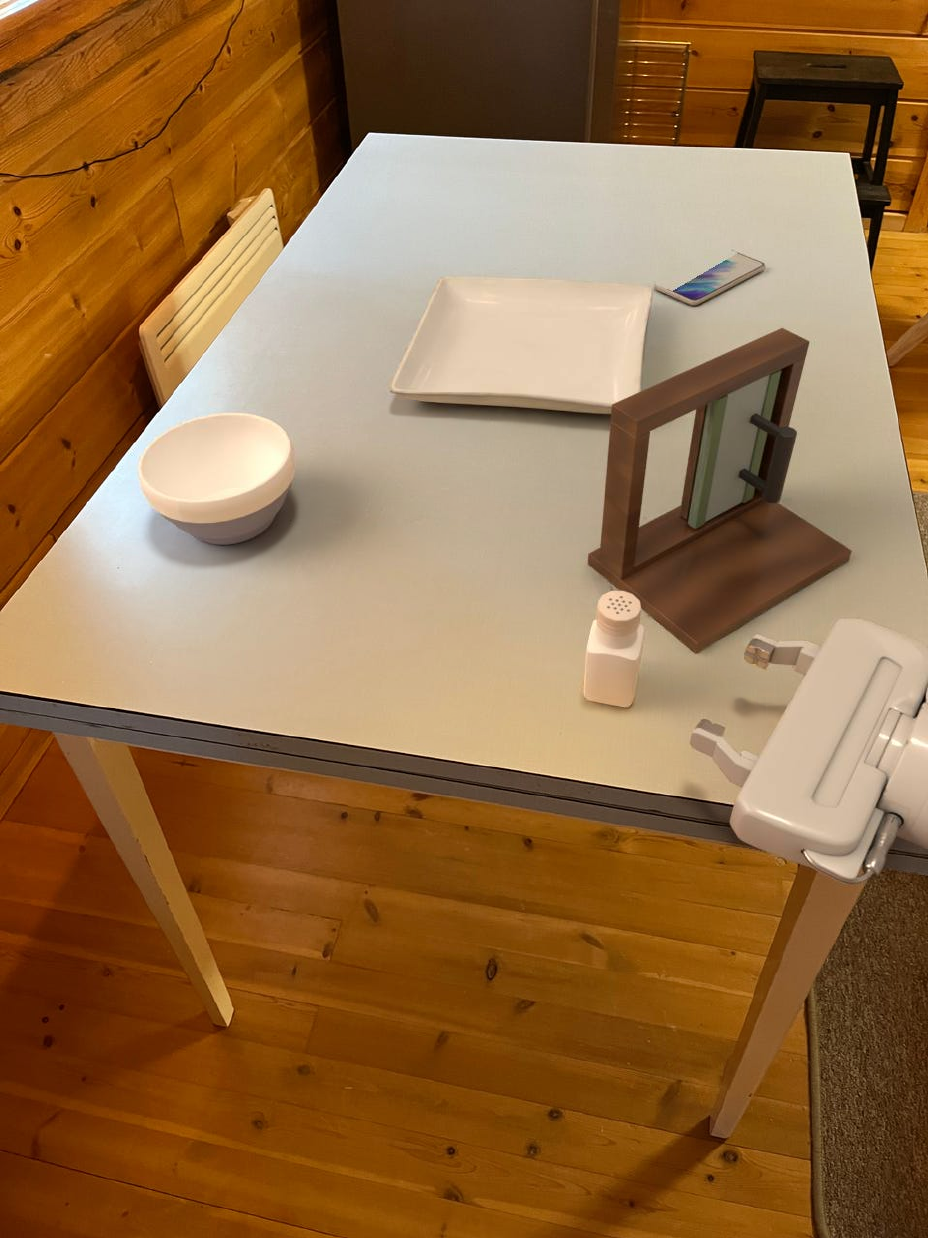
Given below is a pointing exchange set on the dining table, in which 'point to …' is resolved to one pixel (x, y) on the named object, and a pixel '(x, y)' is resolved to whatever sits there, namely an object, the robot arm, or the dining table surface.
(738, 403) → the window sash
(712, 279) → the smartphone
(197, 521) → the bowl
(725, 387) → the window frame
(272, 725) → the dining table surface
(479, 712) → the dining table surface
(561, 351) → the square plate
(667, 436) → the dining table surface
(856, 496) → the dining table surface
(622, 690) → the salt shaker
